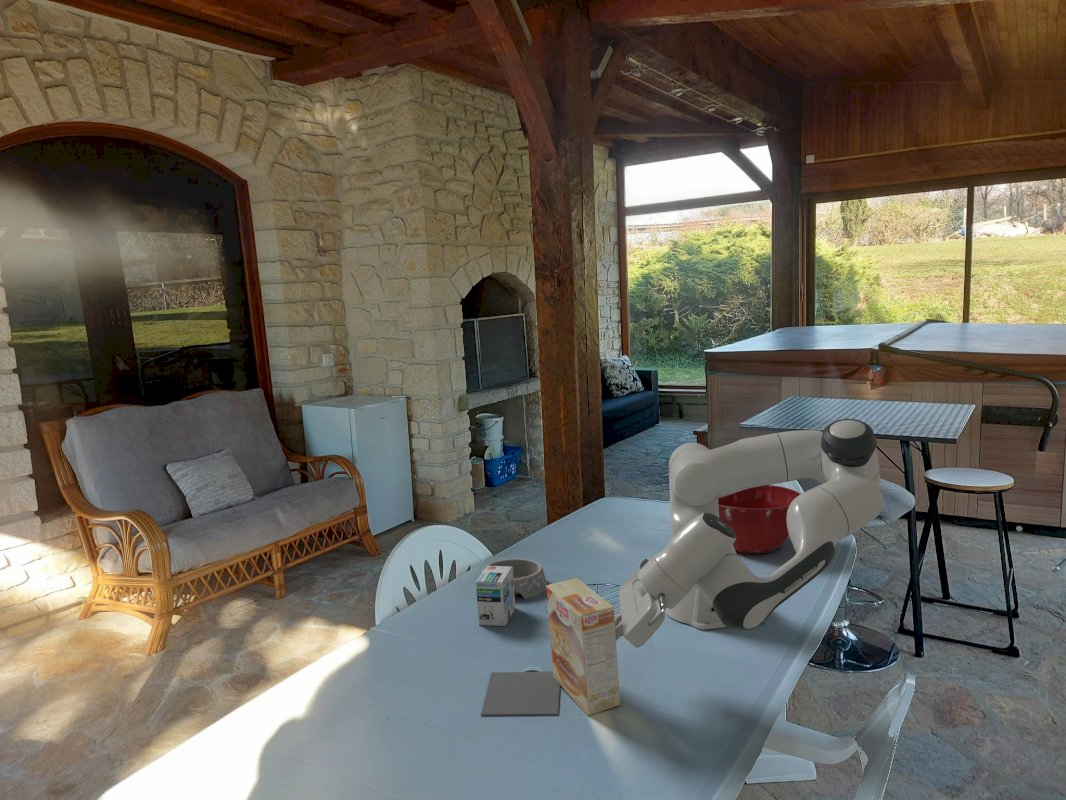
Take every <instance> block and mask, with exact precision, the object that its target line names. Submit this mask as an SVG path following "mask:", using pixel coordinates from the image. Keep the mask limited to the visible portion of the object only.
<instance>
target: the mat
mask: <svg viewBox="0 0 1066 800" xmlns="http://www.w3.org/2000/svg"><path fill="white" fill-rule="evenodd" d="M560 687H561V685H560V684H559V683H558V682H557V681H556V680H555V679H554V677H553V671H507V672H506V671H504V672H501V671H499V672H495V671H494V672H491V673H490V676H489V680H488V685H487V689H486V692H485V697H484V700H483V704H482V709H481V712H480V713H481V714H480V717H494V716H495V717H497V716H498V717H499V716H501V717H503V716H506V717H511V716H512V717H513V716H558V715H559V704H560V691H561V688H560Z"/></svg>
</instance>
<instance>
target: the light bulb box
mask: <svg viewBox="0 0 1066 800" xmlns="http://www.w3.org/2000/svg"><path fill="white" fill-rule="evenodd" d="M480 574H481V573H480ZM475 587H476V589H475V590H476V600H477V601H476V602H477V603H476V605H477V614H478V615H477V617H478V618H477V619H478V626H494V627H495V626H496V627H497V626H498V627H506V626H507V624H508V622H509V620H510V619H511V617H512V615H513V613H514V612H515V609H516V600H515V599H516V596H515V595H516V594H515V595H514V577H513V567H509V566H487V567H486V568H485V570H484V571H483V572H482V574H481V575H479V576H478V578H477V579H476V581H475Z"/></svg>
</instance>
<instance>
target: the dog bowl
mask: <svg viewBox="0 0 1066 800" xmlns="http://www.w3.org/2000/svg"><path fill="white" fill-rule="evenodd" d="M487 566H509V567H513V577H514V595H521V596H522V597H523V598H522V599H524V600H528V599H532V598H535V597H537V596H539V595H541V594H543V593H544V592H545V591H547V590H546V586H547V585H549V584H548V581H547V579H546V575H545V571H544V568H543V566H542V564H540V563H539V562H538V561H536V560H532V559H528V558H517V557H516V558H504V559H499V560H496V561H493V562H490V563H488V564H485V565H484V566H483V567H482V568H481V569H480V575H481V574H482V572H483V571H484V570H485V568H486V567H487ZM480 575H479V576H480ZM531 597H532V598H531Z"/></svg>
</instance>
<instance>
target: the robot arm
mask: <svg viewBox="0 0 1066 800" xmlns="http://www.w3.org/2000/svg"><path fill="white" fill-rule="evenodd" d="M877 445H878V442H877V438H876V435H875V433H874V430H873V428H872V427H871V426H870V424H868V423H866V422H865V421H862V420H859V419H855V418H854V419H853V418H843V419H837V420H835V421H832V422H831V423H829V424H828V425H826V427H824V429H823V431H821V430H818V429H804V430H788V431H782V432H775V433H769V434H768V433H767V434H764V435H758V436H751V437H745V438H741V439H738V440H736V441H734V442H732V443H728V444H726V445H723V446H719V447H715V448H712V449H709V448H708V447H707V446H706V445H703V444H702V443H701V444H700V443H699V442H685V443H683V444H681V445H679V446H678V447H677V448H675V449H674V450H673V451H672V453H671V454H670V457H669V461H668V482H669V483H668V484H669V485H668V487H669V509H670V510H669V511H670V512H669V513H670V540H669V542H668V543H667V546H666V547H665V548H664V549H663V550H662V551H659V552H658V553H656V554H655V555H654V556H653V557H652V558H649V557H644V558H643V559H642V560H641V561H640V562H639V565H638V567H639V568H637V569H636V570H635V571H634V572H633V573H632V574H631V575H630V577H629V578H628V579H627V580H626V581H625V583H624V584H623V585H622V586H621V588H620V590H619V592H618V599H619V606H620V607H619V608H620V612H619V613H618V614H617V615H616V617H615V633H616V642H617V641H618V640H619V639H620V638H621V637H623V638H625V640H626V641H628V642H629V643H630V644H631V645H632V646H634V647H635V648H636V649H637V648H641V647H642V646H644V645H645V644H646V643H647V642H648V641H649V639H650V638H652V636H653V635H655V633H656V632H657V631H658V629H659V628H660V627H661V625H662V624H663V623H664V621H665V618H666V614H667V615H668V616H669V617H670V618H671V619H672V620H675V621H677V622H680V623H683V624H687V625H690V626H693V627H694V628H696V629H698V630H703V631H704V630H712V629H724V628H729V629H732V630H735V631H736V630H738V631H752V630H753V629H755V628H757V627H758V626H761V624H764V623H765V622H766V620H767V618H768V617H769V616H771V614H772V613H773V612H774V611H775V610H776V609H777V608H778V607H779V606H780V605H782V604H783V603H784V602H785V601H787V600H788V599H790V598H791V597H793V595H794V594H796V593H798V591H800V590H802V589H803V588H804V587H805V586H806V585H808V583H810V582H811V581H812V580H814V579H815V578H816V577H818V576H819V575H820V574H821V573H822V572H823V571H824V570H825V569H826V568H828V566H829V565H830V564H831V563H832V561H833V560H834V557H835V554H836V545H837V544H838V543H839V542H840V541H842V540H843V539H846V538H848V537H849V536H851V535H853V534H855V533H856V532H857V531H859V530H861V529H863V528H864V527H865V526H867V525H869V523H871V522H872V521H874V520H875V518H877V517H878V516H879V515H880V513H881V512H882V511H883V508H884V498H883V496H884V495H883V494H882V491H881V490H880V487H881V467H880V466H881V465H880V462H879V461H880V460H879V455H878V450H877ZM802 479H813V480H816V481H817V482H819V483H820V484H819V485H817V486H815V487H812V488H810V489H808V490H806V491H804V492H803V493H800V495H799V496H797V497H796V498H795V499H794V500H793V501H792V502H791V504H790V506H789V508H788V511H787V516H786V522H787V529H788V533H789V536H788V537H789V539H790V541H791V544H792V545H793V548H794V551H795V555H793V557H792V558H790V559H789V560H787V561H786V562H785V563H784V564H782V565H781V566H779V568H776V570H774V571H773V572H772V573H770V574H768V576H766V577H759V576H757V575H755V574H754V572H753V571H751V569H750V568H749V567H748V566H747V565H746V564H745V563H744V562H743V560H742V559H741V558H740V557H739V555H738V554H737V551H735V549H734V545H733V543H734V542H735V540H736V535H735V533H734V531H733V530H732V528H731V527H730V526H729V525H728V524H727V523H725V522H724V521H723V520H721V519H720V518H719V505H718V498H721V497H724V496H728V495H731V494H734V493H736V492H739V491H742V490H746V489H749V488H754V487H759V486H765V485H776V484H781V483H782V484H783V483H790V482H794V481H798V480H802ZM665 612H666V613H665Z"/></svg>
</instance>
